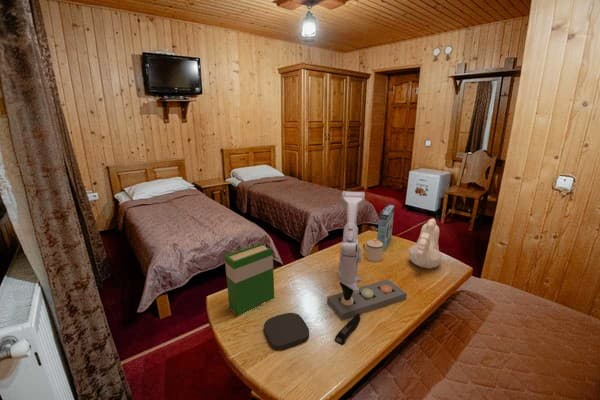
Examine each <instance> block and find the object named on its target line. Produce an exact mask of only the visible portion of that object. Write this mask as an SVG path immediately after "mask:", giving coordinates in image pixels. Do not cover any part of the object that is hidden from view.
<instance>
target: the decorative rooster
mask: <svg viewBox="0 0 600 400" xmlns="http://www.w3.org/2000/svg"><path fill="white" fill-rule="evenodd" d="M439 237H440V227H439V225H437V221H436V219H435V218H431V219H429V220H428V221H427V222H426V223H424V224H423V225H422V227H421V230H420V233H419V237H418V239H417V240H416V244H414V245H412V246H411V247H409V249H408V252H407V253H408V259H409V260H410V261H411V262H412V263H413V264H414V265H415V266H417V267H420V268H423V269H428V270H429V269H433V268H438V266H439V265H440V263H441V259H442V255H441V252H440V250H439Z"/></svg>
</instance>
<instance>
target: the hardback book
mask: <svg viewBox="0 0 600 400" xmlns="http://www.w3.org/2000/svg"><path fill="white" fill-rule="evenodd" d="M273 252H274V251H273V248H272V247H269V248H268V247H266V246H265V243H264V242H261V243H257V244H254V245H252V246H249V247H245V248H242V249H240V250H236V251H234V252H231V253H228V254H224V262H225V263H224V264H225V274H226V285H227V287H226V288H227V294H228V296H227V297H228V307H229V309H230V308H231V309H232V310H233V311H234V312H235V313H234V312H233V311H232V310H231V309H230V310H231V311H232V312H233V313H234V314H235V315H236V316H237V317H240V316H242V315H244V314H246V313H248V312H250V311H252V310H254V309H256V308H258V307H260V306H262V305H263V304H262V303H264V302H267V301H269V300H271V299H273V298H274V299H275V281H274V280H275V275H274V255H273V254H274V253H273ZM274 299H273V300H274ZM271 301H272V300H271ZM269 302H270V301H269ZM267 303H268V302H267ZM261 304H262V305H261ZM259 305H260V306H259ZM257 306H258V307H257ZM255 307H256V308H255ZM253 308H254V309H253ZM251 309H252V310H251ZM249 310H250V311H249ZM247 311H248V312H247ZM245 312H246V313H245ZM243 313H244V314H243ZM241 314H242V315H241ZM239 315H240V316H239Z"/></svg>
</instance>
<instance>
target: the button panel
mask: <svg viewBox="0 0 600 400" xmlns="http://www.w3.org/2000/svg"><path fill="white" fill-rule="evenodd" d="M381 285H389V286H391V287H392V292H391V293H388V294H384V293H383V292H382V291H381V290H380V286H381ZM358 288H359V293H358V294H354V293H352V296H351V297H352V298H353V305H349V306H346V307H345V306H344V305H343V304H342V303H341V298H342V297H343V296H344V295H343V291H341V292H339V293H335V294H331V295H327V297H326V302H327V304H328V306H329V307H330V308H331V309H332V310H333V311H334V312H335V314H336V315H337V316H338V318H339V319H340V320H341V321H345V320H348V319H350V318H351V319H352V318H353V317H354V316H355V315H356V314H360V315H363V314H366V313H369V312H372V311H375V310H378V309H381V308H384V307H387V306H390V305H394V304H396V303H399V302H402V301H405V300H407V294H408V293H407V292H406V291H404V289H402V288H401V287H399V286H397V285H396V284H395V283H394V282H392V281H391V280H390V279H388V278H387V279H384V280H380V281H377V282H373V283H369V284H365V285H362V286H358ZM365 288H368V289H371V290H372V291H373V292H374V294H373V298H372V299H369V300H365V299H364V298H363V297H362V296H361V291H362V289H365Z"/></svg>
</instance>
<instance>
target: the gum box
mask: <svg viewBox="0 0 600 400" xmlns="http://www.w3.org/2000/svg"><path fill="white" fill-rule="evenodd" d="M394 213H395V205H393V204H386V206H385V207H383V209H382V210H381V211H380V213H379V215H378V216H379V218H378V225H377V226H378V227H377V228H378V229H377V238H376V239H377V240H378V241H381V242H382V243H383V252H382V253H385V251H386V249H387V248H388V246H389V244H390V242H392V237H393V236H392V235H393V234H392V233H393V225H394Z"/></svg>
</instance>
